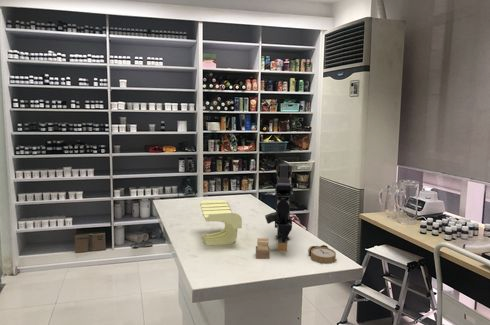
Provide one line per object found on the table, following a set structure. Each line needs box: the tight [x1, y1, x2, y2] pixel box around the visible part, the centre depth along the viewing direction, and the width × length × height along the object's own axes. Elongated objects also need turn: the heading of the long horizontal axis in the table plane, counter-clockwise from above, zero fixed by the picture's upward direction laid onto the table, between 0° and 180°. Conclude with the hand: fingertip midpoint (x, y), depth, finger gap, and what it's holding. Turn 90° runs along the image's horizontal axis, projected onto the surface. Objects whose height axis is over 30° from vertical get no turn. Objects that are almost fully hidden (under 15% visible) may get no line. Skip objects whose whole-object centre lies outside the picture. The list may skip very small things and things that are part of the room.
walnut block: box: [255, 245, 271, 260], centre depth 179 cm, size 6×6×4 cm
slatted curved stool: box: [199, 199, 243, 246], centre depth 201 cm, size 30×16×18 cm, turn 14°
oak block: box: [256, 237, 269, 250], centre depth 178 cm, size 5×5×4 cm
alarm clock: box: [307, 244, 337, 264], centre depth 178 cm, size 11×5×15 cm
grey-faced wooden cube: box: [276, 238, 288, 252], centre depth 188 cm, size 4×4×5 cm
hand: (282, 239), depth 188 cm, fingers open, 9 cm apart
